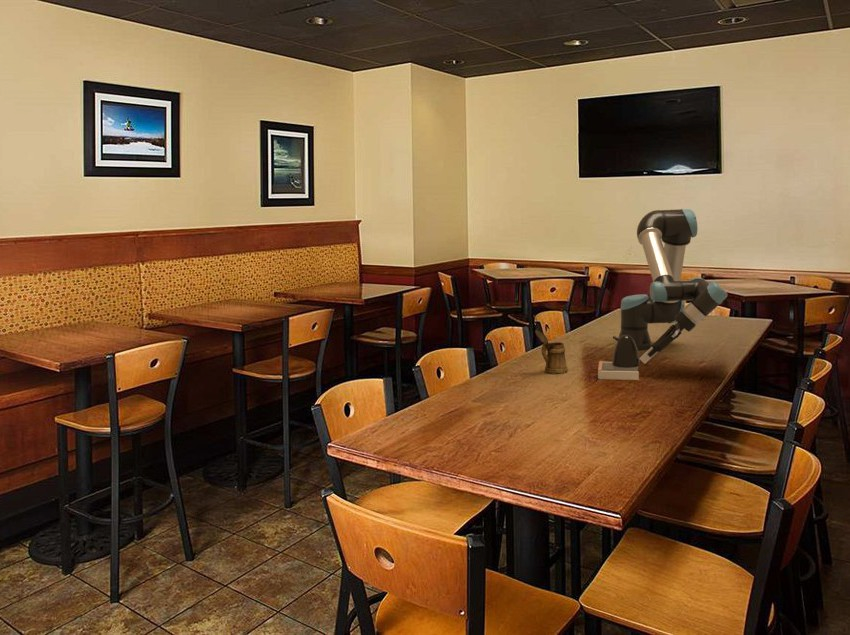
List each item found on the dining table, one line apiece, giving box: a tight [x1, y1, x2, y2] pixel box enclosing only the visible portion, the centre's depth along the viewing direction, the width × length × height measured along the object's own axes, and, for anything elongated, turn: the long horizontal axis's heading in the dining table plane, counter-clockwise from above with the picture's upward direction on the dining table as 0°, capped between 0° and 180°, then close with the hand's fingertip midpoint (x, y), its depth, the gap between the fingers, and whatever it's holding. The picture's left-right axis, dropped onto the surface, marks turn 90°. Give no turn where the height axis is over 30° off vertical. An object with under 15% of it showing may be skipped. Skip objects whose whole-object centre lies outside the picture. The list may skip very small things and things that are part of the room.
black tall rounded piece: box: [611, 335, 641, 371], centre depth 275 cm, size 10×10×15 cm
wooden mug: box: [534, 328, 569, 374], centre depth 282 cm, size 9×14×18 cm, turn 112°
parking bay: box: [597, 360, 640, 381], centre depth 276 cm, size 16×15×3 cm
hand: (642, 361), depth 272 cm, fingers closed
